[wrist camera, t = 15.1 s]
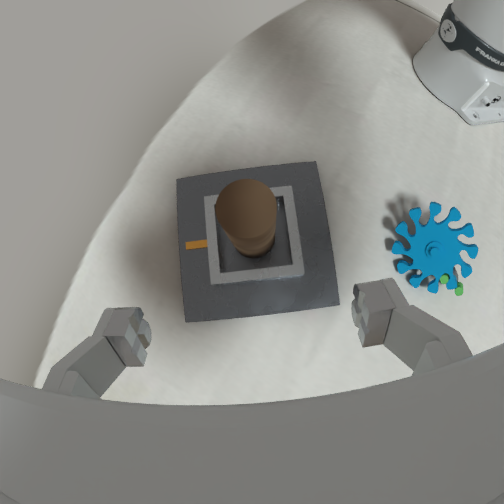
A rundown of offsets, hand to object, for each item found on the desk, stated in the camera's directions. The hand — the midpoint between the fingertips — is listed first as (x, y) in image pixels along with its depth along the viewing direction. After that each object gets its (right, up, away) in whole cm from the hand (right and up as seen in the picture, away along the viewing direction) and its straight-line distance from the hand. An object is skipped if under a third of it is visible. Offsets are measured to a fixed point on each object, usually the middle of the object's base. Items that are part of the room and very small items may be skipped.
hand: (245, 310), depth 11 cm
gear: (+20, +1, +20) cm, 28 cm away
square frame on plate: (0, +3, +21) cm, 21 cm away
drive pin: (0, +4, +20) cm, 20 cm away
